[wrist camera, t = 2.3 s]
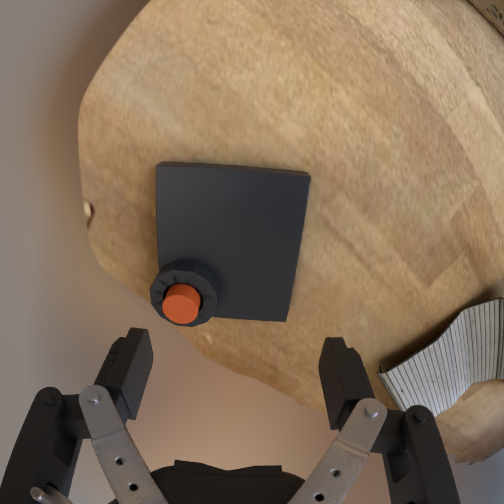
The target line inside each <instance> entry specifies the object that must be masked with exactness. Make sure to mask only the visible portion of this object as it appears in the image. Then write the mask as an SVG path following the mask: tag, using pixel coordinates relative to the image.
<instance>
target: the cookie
mask: <svg viewBox="0 0 504 504" xmlns="http://www.w3.org/2000/svg"><path fill="white" fill-rule="evenodd" d="M468 1H469V2H470V3H471V4H472V5H473V6H474V7H475V8H476V9H477V10H478V11H479V12H480V13H481V14H482V15H483V16H484V17H485V18H486V19H487V20H489V22H490V23H491V24H492V25H494V26H495V27H496V28H497V29H498V30H499V31H500V32H501V34H502V35H503V36H504V0H468Z"/></svg>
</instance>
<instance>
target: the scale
mask: <svg viewBox="0 0 504 504" xmlns="http://www.w3.org/2000/svg"><path fill="white" fill-rule="evenodd" d="M310 181H311V176H310V175H309V174H308V173H307V172H299V171H290V170H281V169H271V168H261V167H249V166H237V165H222V164H205V163H183V162H161V163H159V164H158V165H156V220H157V245H158V262H159V272H158V274H157V276H156V277H155V279H154V281H153V283H152V285H151V287H150V297H151V304H152V306H153V307H154V308H155V310H156V311H157V312H158V314H159V315H160V316H161V317H162V318H164V319H166V320H167V321H169V322H171V323H173V324H175V325H179V326H188V327H194V326H197V325H199V324H202V323H205V322H207V321H208V320H209V319H210V318H211V317H220V318H232V319H246V320H262V321H281V322H286V319H287V314H288V309H289V304H290V299H291V293H292V288H293V283H294V277H295V272H296V266H297V261H298V255H299V249H300V244H301V238H302V232H303V226H304V220H305V213H306V207H307V201H308V194H309V188H310ZM175 284H187V285H190V286H192V287H193V288H195V289H196V290H197V292H198V293H199V295H200V299H201V300H200V306H199V310H198V314H197V317H196V318H195V319H194V320H193V321H192V322H190V323H186V324H180V323H176V322H173V321H171V320H170V319H169V318H167V316H166V315H165V314H164V312H163V308H162V305H163V302H164V299H165V297H166V294H167V292H168V290H169V288H170V287H172V286H173V285H175Z"/></svg>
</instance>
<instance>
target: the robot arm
mask: <svg viewBox="0 0 504 504" xmlns="http://www.w3.org/2000/svg"><path fill="white" fill-rule="evenodd" d="M152 364H153V351H152V346H151V342H150V337H149V332H148V330H147V329H141V328H130V330H129V332H128V334H127V336H126V338H124V337H120V338H119V339H118V340H116V341H115V342H114V343H113V344H112V346H111V348H110V351H109V354H108V355H107V357H106V360H105V361H104V363H103V365H102V367H101V370H100V372H99V374H98V376H97V378H96V380H95V383H94V384H93V385H92V386H88V387H87V388H85V389H84V390H82V392H81V393H80V394H75V395H62V394H61V392H60V391H59V390H58V389H57V388H54V387H46V388H43V389H42V390H40V391H39V392H38V393H37V395H36V396H35V399H34V401H33V403H32V405H31V407H30V410H29V412H28V414H27V417H26V419H25V421H24V424H23V426H22V428H21V431H20V433H19V436H18V438H17V440H16V443H15V446H14V448H13V451H12V454H11V457H10V459H9V462H8V465H7V468H6V471H5V474H4V477H3V480H2V483H1V487H0V504H73V503H72V502H71V501H70V500H69V499H68V495H69V491H70V487H71V482H72V478H73V474H74V470H75V466H76V463H77V459H78V455H79V452H80V448H81V445H82V441H83V439H91V438H92V440H91V444H92V446H93V449H94V451H95V454H96V456H97V458H98V461H99V463H100V465H101V468H102V469H103V472H104V474H105V476H106V478H107V480H108V482H109V485H110V487H111V489H112V491H113V493H114V494H115V496H116V498H115V499H114V500H113V501H111V502H110V503H108V504H341V503H342V501H343V500H344V498H345V496H346V495H347V493H348V492H349V490H350V488H351V487H352V485H353V484H354V482H355V480H356V479H357V477H358V475H359V473H360V472H361V470H362V468H363V466H364V464H365V463H366V461H367V459H368V457H369V452H374V453H382V456H383V461H384V466H385V471H386V477H387V482H388V488H389V493H390V499H391V504H461V503H460V499H459V496H458V492H457V488H456V484H455V481H454V477H453V474H452V470H451V467H450V464H449V460H448V457H447V454H446V451H445V448H444V445H443V442H442V439H441V436H440V433H439V430H438V427H437V424H436V422H435V419H434V416H433V414H432V412H431V411H430V410H429V409H428V408H427V407H425V406H423V405H413V406H411V407H409V408H408V409H407V411H398V410H391V409H387V408H386V407H385V405H384V404H383V403H382V402H381V401H379V400H377V399H376V398H375V396H374V393H373V390H372V387H371V384H370V381H369V378H368V376H367V373H366V370H365V367H364V366H363V362H362V359H361V357H360V355H359V354H358V353H357V351H356V350H355V349H354V348H347V347H346V344H345V341H344V339H343V337H326V339H325V341H324V345H323V349H322V352H321V356H320V360H319V375H320V380H321V384H322V389H323V394H324V399H325V403H326V408H327V413H328V418H329V423H330V428H331V430H335V429H339V434H338V436H337V437H336V439H335V440H334V441H333V443H332V444H331V446H330V447H329V449H328V450H327V452H326V453H325V455H324V456H323V458H322V459H321V460H320V462H319V463H318V465H317V466H316V467H315V469H314V470H313V472H312V473H311V474H310V476H309V477H308V478H307V480H306V481H305V480H304V479H302V478H300V477H298V476H296V475H294V474H291V473H287V472H283V471H282V467H281V465H278V466H252V467H246V468H241V469H235V470H228V471H227V470H223V469H219V468H216V467H212V466H209V465H206V464H203V463H198V462H189V461H181V460H175V462H174V466H168V467H163V468H160V469H157V470H155V471H153V472H151V471H150V470H149V468H148V466H147V465H146V463H145V462H144V460H143V458H142V456H141V455H140V453H139V451H138V449H137V447H136V446H135V444H134V442H133V440H132V438H131V436H130V434H129V432H128V430H127V428H126V426H125V425H126V422H127V419H132V420H136V416H137V413H138V409H139V406H140V403H141V399H142V396H143V393H144V389H145V386H146V383H147V380H148V377H149V374H150V371H151V368H152Z"/></svg>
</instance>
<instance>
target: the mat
mask: <svg viewBox="0 0 504 504" xmlns="http://www.w3.org/2000/svg"><path fill="white" fill-rule="evenodd" d="M379 370H380V371H377V374H378V376H379V377H380V379H381V381H382V382H383V384H384V386H385V387H386V389H387V390H388V392H389V394H390V395H391V397H392V399H393V400H394V402H395V404H396V405H397V407H398V409H399V410H400V411H407V409H408V408H409V407H411V406H413V405H423V406H425V407H427V408H428V409H429V410H430V411H431V412H432V414H433V416H434V417H435V416H437V415H438V414H440V413H442V412H443V411H445V410H447V409H448V408H450V407H451V406H452V405H453V404H454V403H455V402H456V401H457V400H458V399H459V397H460V396H461V395H462V394H463V393H464V392H465V391H466V390H467V389H468V388H469V386H471V385H472V384H474V383H479V382H483V381H487V380H491V379H494V378H497V379H504V298H502V297H500V298H496V299H492V300H489V301H485V302H482V303H478V304H475V305H473V306H471V307H469V308H467V309H465V310H462V311H461V312H459V313H457V315H456V316H455V317H454V318H453V319H452V321H451V322H450V323H449V324H448V325H447V327H446V328H445V329H444V330H443V331H442V332H441V333H440V335H439V336H438V337H437V338H436V339H435V340H433V341H431V342H430V343H428V344H427V345H425V346H424V347H422V348H420V349H419V350H417V351H415V352H414V353H413V354H412V355H410V356H409V357H407V358H406V359H404V360H403V361H401V362H400V363H398V364H397V365H395V366H393V367H391V368H389V369H388V370H386V371H384V372H382V371H381V365H380V367H379Z"/></svg>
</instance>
